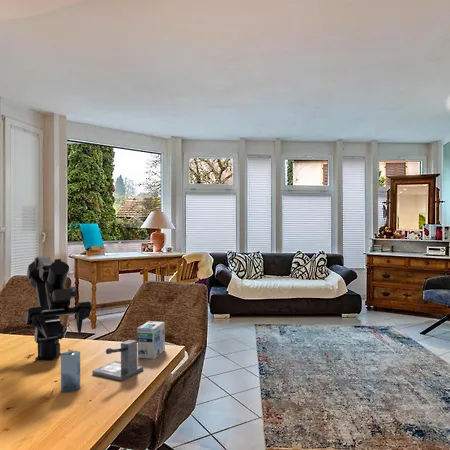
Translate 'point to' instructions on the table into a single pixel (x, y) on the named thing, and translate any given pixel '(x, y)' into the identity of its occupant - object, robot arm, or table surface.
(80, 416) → the table surface
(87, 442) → the table surface
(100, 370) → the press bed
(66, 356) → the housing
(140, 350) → the light bulb box
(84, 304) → the robot arm
